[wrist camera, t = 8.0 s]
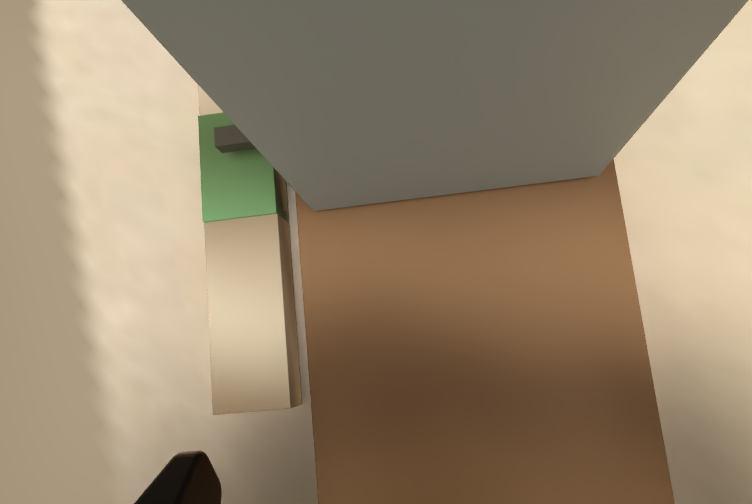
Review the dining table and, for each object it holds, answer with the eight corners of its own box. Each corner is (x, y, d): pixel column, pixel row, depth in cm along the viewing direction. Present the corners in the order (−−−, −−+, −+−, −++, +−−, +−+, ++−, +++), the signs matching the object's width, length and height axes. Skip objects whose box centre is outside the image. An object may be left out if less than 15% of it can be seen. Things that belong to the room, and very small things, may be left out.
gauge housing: (653, 498, 15) (1355, 980, 3) (235, 528, 16) (-308, 976, 4) (547, -119, 18) (723, -940, 7) (206, -61, 19) (-152, -683, 8)
